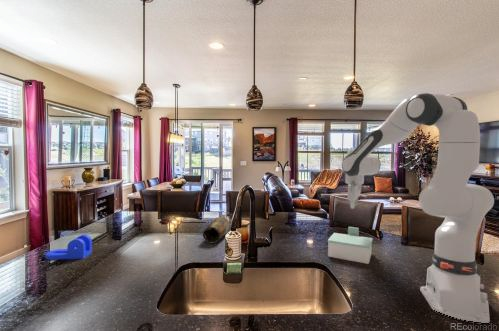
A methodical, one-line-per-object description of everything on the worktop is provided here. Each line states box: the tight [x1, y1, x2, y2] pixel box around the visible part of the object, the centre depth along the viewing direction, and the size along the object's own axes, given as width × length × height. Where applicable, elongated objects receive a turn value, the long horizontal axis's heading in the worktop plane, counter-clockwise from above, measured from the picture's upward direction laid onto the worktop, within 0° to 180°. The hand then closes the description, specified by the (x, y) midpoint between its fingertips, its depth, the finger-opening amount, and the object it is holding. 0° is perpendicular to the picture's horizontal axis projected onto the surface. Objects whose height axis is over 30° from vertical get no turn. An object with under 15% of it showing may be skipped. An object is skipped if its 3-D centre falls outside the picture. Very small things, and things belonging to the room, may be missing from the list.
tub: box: [327, 241, 373, 265], centre depth 132 cm, size 14×18×7 cm
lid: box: [327, 226, 373, 249], centre depth 133 cm, size 18×19×5 cm
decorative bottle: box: [202, 213, 234, 245], centre depth 169 cm, size 11×11×45 cm
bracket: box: [45, 234, 93, 261], centre depth 128 cm, size 18×8×9 cm, turn 96°
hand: (353, 206), depth 140 cm, fingers open, 8 cm apart
